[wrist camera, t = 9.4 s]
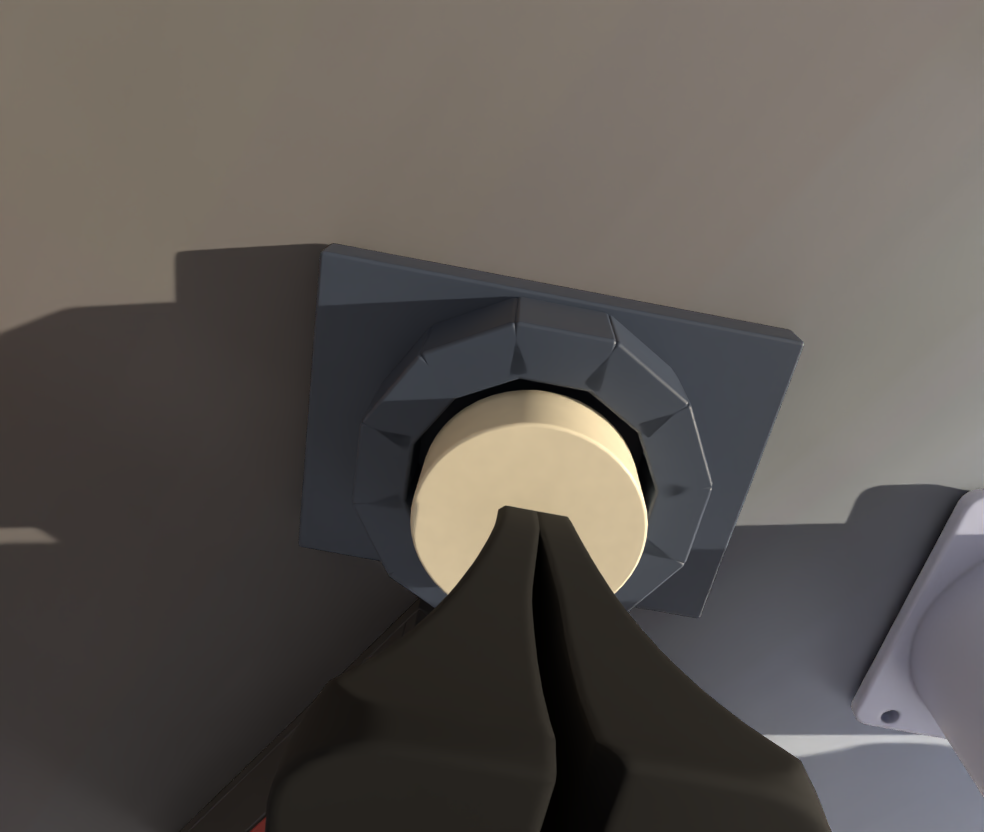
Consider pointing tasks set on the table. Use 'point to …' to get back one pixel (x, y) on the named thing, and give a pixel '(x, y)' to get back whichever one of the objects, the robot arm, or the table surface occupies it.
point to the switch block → (531, 366)
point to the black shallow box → (280, 754)
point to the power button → (528, 482)
